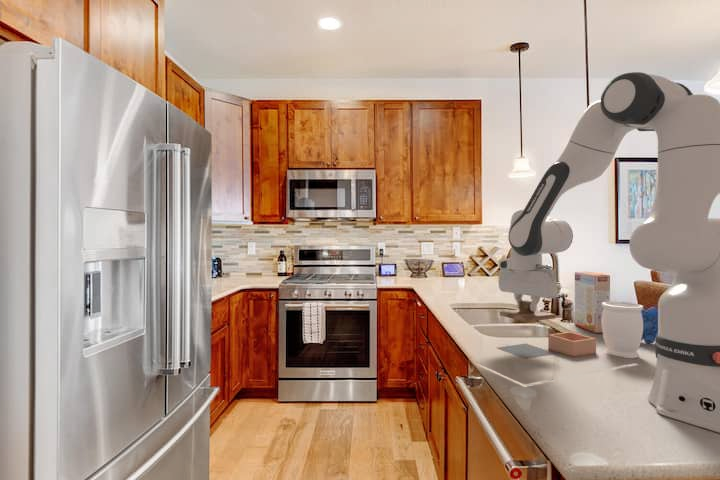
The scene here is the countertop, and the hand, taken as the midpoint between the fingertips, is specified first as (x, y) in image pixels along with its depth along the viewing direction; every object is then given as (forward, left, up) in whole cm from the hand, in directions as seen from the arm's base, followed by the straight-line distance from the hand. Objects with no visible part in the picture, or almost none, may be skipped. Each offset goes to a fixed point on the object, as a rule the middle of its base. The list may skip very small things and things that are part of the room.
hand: (526, 309), depth 123 cm
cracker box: (+14, -45, -13) cm, 49 cm away
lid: (0, 0, -2) cm, 2 cm away
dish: (-5, -12, -13) cm, 19 cm away
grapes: (-7, -44, -13) cm, 47 cm away
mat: (+1, 0, -13) cm, 13 cm away
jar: (-12, -24, -13) cm, 30 cm away
